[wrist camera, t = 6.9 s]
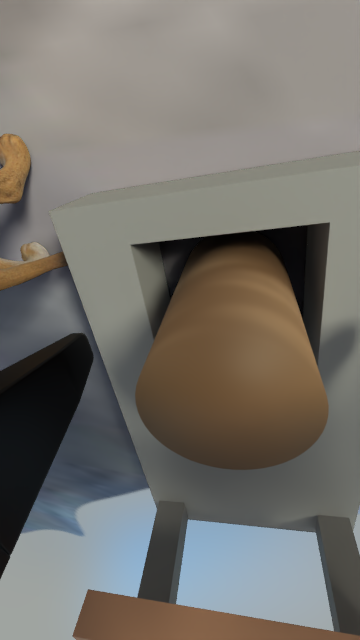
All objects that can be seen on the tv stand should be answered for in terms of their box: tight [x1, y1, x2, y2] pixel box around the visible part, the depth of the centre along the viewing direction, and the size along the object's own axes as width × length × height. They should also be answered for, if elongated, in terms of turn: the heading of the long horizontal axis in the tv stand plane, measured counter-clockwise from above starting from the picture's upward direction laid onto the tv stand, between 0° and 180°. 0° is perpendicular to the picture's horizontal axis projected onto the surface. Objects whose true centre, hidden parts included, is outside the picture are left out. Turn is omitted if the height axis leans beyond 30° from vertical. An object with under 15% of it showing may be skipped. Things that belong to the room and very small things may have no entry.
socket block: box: [49, 151, 360, 533], centre depth 13 cm, size 10×17×3 cm, turn 9°
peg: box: [135, 231, 329, 470], centre depth 9 cm, size 4×4×7 cm
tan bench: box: [73, 500, 360, 640], centre depth 14 cm, size 11×5×9 cm, turn 99°
